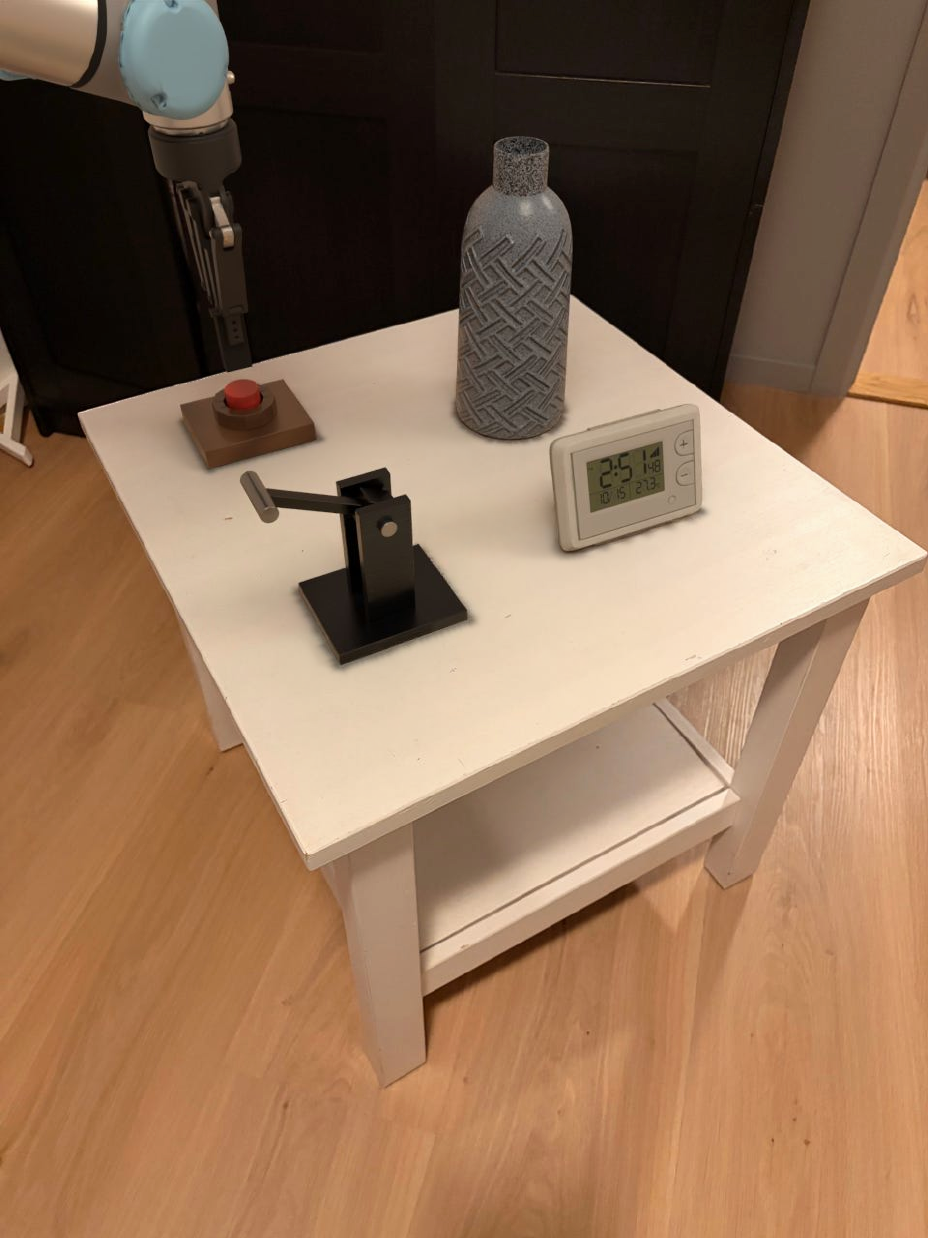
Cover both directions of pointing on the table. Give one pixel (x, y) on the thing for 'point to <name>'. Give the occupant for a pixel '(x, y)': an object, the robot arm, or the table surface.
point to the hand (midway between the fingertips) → (238, 366)
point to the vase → (514, 298)
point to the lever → (304, 499)
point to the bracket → (379, 579)
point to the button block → (247, 425)
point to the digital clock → (626, 476)
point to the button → (242, 394)
